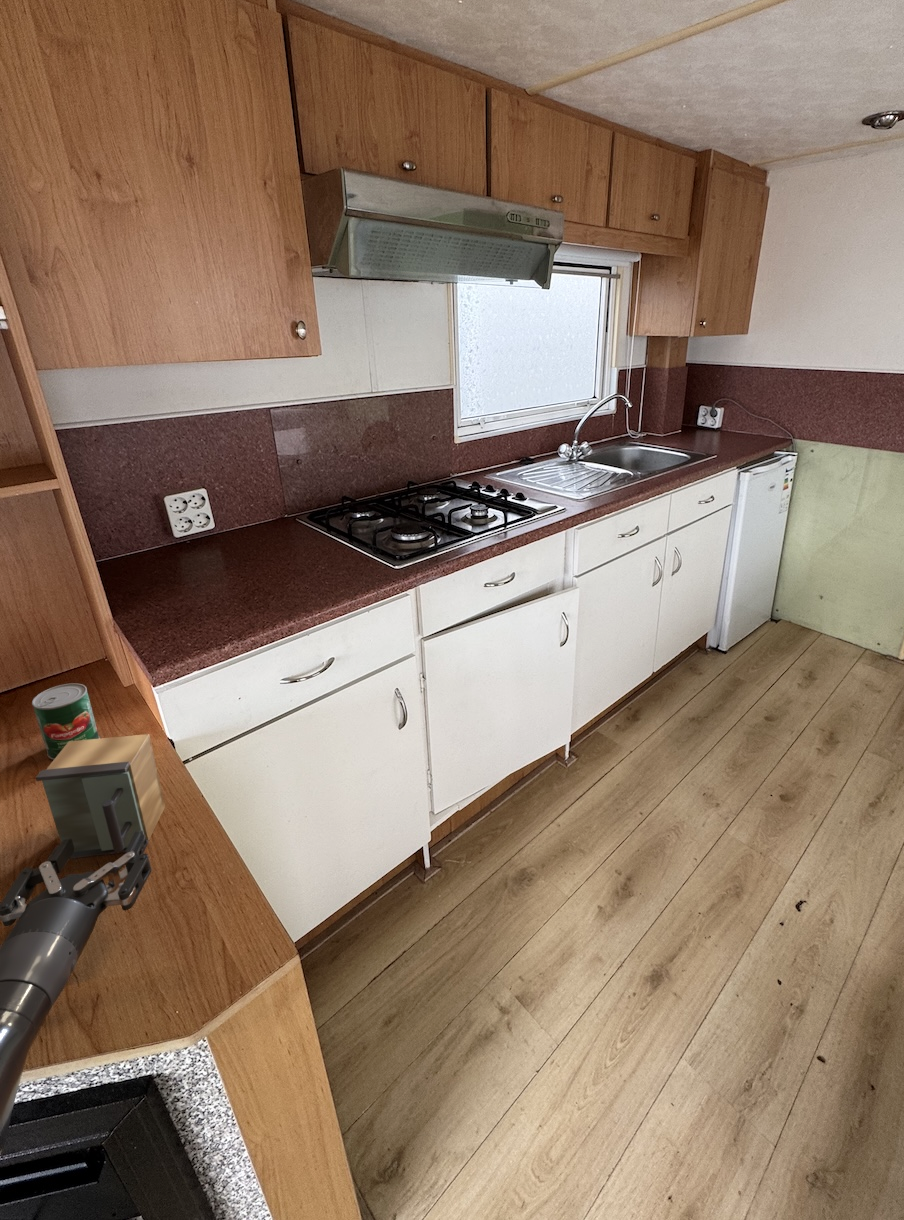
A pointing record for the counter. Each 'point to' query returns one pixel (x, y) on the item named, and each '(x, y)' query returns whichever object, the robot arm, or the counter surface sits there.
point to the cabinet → (98, 760)
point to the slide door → (113, 809)
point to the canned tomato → (64, 716)
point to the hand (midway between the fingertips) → (105, 839)
